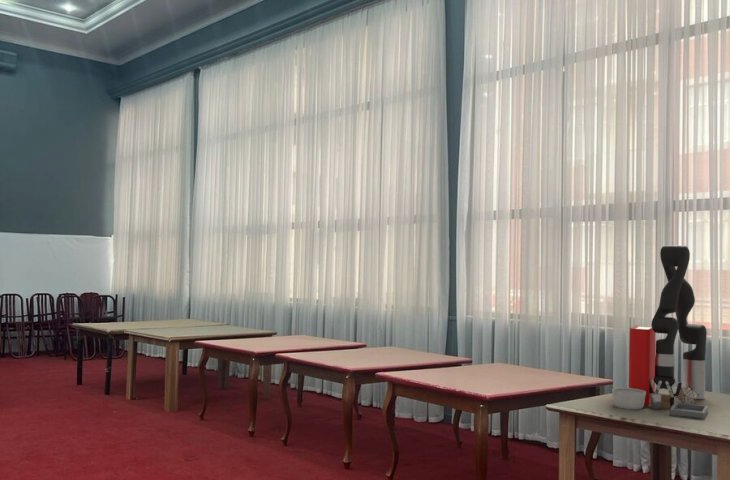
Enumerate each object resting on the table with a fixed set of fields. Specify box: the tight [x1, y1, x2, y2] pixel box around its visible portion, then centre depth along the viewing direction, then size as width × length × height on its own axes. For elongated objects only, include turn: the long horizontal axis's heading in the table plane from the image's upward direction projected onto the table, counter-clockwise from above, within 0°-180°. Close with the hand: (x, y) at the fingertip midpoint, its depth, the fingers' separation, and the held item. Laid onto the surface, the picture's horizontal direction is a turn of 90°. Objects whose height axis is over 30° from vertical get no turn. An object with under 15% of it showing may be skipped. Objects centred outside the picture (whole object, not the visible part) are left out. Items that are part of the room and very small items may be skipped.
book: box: [628, 324, 656, 407], centre depth 312 cm, size 27×8×32 cm, turn 153°
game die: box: [674, 386, 700, 405], centre depth 303 cm, size 9×8×10 cm
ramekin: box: [611, 387, 646, 410], centre depth 295 cm, size 13×13×7 cm
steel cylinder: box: [650, 392, 662, 410], centre depth 293 cm, size 4×4×6 cm
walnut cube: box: [658, 392, 672, 409], centre depth 299 cm, size 5×5×5 cm
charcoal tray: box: [669, 402, 709, 421], centre depth 283 cm, size 18×12×2 cm, turn 149°
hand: (664, 405), depth 299 cm, fingers closed on walnut cube, 5 cm apart
